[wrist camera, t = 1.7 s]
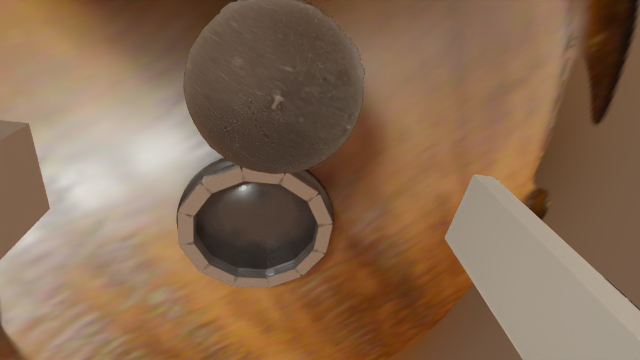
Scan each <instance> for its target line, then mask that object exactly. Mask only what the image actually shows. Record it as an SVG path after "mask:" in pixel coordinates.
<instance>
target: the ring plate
mask: <svg viewBox="0 0 640 360" xmlns="http://www.w3.org/2000/svg"><path fill="white" fill-rule="evenodd" d="M332 227H333V212H332V207H331V203H330V200H329V197H328V194H327V192H326V190H325V188H324V187H323V185H322V184H321V182H320V181H319V180H318V179H317V178H316V177H315V176H314V175H313V174H312V173H311V172H310V171H309V170H307V169H306V170H302V171H299V172H295V173H282V174H269V173H263V172H257V171H251V170H249V169H246V168H243V167H241V166H238V165H236V164H235V163H232V162H231V161H229V160H227V159H226V158H222V159H220V160H218V161H216V162H213V163H211V164H210V165H208V166H207V167H205V168H204V169H202V170H201V171H200V172H199V173H198V174H196V175H195V176H194V178H193V179H192V180H191V181H190V182H189V184H188V185H187V187H186V189H185V190H184V193H183V195H182V197H181V200H180V202H179V205H178V210H177V228H178V240H179V244H180V248H181V249H182V250H183V251H184V253H185V254H186V255H187V256H188V258H189V259H190V260H191V261H192V263H193V264H194V265H195V266H196V268H197V269H198V270H199V271H200V270H201V273H204V274H206V275H208V276H210V277H213V278H215V279H217V280H219V281H221V282H224V283H226V284H228V285H230V286H232V285H233V284H234V287H261V288H268V285H269V286H270V287H273V286H276V285H279V284H282V283H284V282H287V281H290V280H293V279H296V278H299V277H301V275H304V274H305V273H306V272H307V271H308V270H309V269H311V268H312V267H313V266H314V265H315V264H316V263H317V262H318V261H319V260H320V259H321V258H322V257H323V256H324V255H325V253H326V251H327V247H328V243H329V238H330V235H331V232H332Z"/></svg>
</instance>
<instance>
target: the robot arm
mask: <svg viewBox="0 0 640 360" xmlns="http://www.w3.org/2000/svg"><path fill="white" fill-rule="evenodd" d="M49 209H50V207H49V203H48V199H47V195H46V191H45V187H44V183H43V179H42V175H41V171H40V167H39V163H38V158H37V154H36V150H35V146H34V142H33V138H32V134H31V130H30V126H29V123H21V122H12V121H4V120H0V260H1V259H2V257H3V256H4V255H5V254H6V253H7V252H8V251H9V250H10V249H11V248H12V247H13V246H14V245H15V244H16V243H17V242H18V241H19V240H20V239H21V238H22V237H23V236H24V235H25V234H26V233H27V232H28V231H29V230H30V229H31V228H32V227H33V226H34V224H35V223H36V222H37V221H38V220H39V219H40V218H41V217H42V216H43V215H44V214H45V213H46V212H47V211H48V210H49ZM445 240H446V241H447V243H448V244H449V246H450V248H451V249H452V251H453V252H454V254H455V255H456V257H457V258H458V260H459V262H460V263H461V265H462V266H463V268H464V269H465V271H466V272H467V274H468V275H469V277H470V279H471V280H472V282H473V283H474V285H475V286H476V288H477V289H478V291H479V292H480V294H481V295H482V297H483V299H484V300H485V302H486V303H487V305H488V306H489V308H490V310H491V311H492V313H493V314H494V316H495V317H496V319H497V320H498V322H499V323H500V325H501V327H502V328H503V330H504V331H505V333H506V334H507V336H508V337H509V339H510V340H511V342H512V344H513V345H514V347H515V348H516V350H517V351H518V353H519V354H520V356H521V358H522V359H523V360H640V309H639V308H638V307H637V306H636V305H635V304H633V303H632V302H631V301H630V300H627V299H626V296H625V295H624V294H623V293H621V292H620V291H619V290H618V289H617V288H616V287H615V286H614V285H613V284H612V283H611V282H609V281H608V280H607V279H605V278H604V277H603V276H601V275H600V274H599V273H598V272H597V271H596V270H595V269H594V268H593V267H592V266H591V265H589V264H588V263H587V262H586V261H585V260H584V259H583V258H582V257H581V256H579V254H577V253H576V252H575V251H574V250H573V249H572V248H571V247H570V246H569V245H568V244H567V243H565V242H564V241H563V240H562V239H561V238H560V237H559V236H558V235H557V234H556V233H554V232H553V231H552V230H551V229H550V228H549V227H548V226H547V225H546V224H545V223H544V222H543V221H542V220H540V219H539V218H538V217H537V216H536V215H535V214H534V213H533V212H532V211H531V210H530V209H528V208H527V207H526V206H525V205H524V204H523V203H522V202H521V201H520V200H519V199H518V198H516V197H515V196H514V195H513V194H512V193H511V192H510V191H509V190H508V189H507V188H506V187H504V186H503V185H502V184H501V183H500V182H499V181H498V180H497V179H496V178H495V177H492V176H483V175H475V174H474V175H473V177H472V179H471V181H470V183H469V185H468V188H467V190H466V192H465V194H464V196H463V199H462V201H461V203H460V205H459V207H458V209H457V212H456V214H455V216H454V218H453V220H452V223H451V225H450V227H449V229H448V231H447V233H446V236H445Z"/></svg>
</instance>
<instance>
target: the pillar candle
mask: <svg viewBox="0 0 640 360" xmlns="http://www.w3.org/2000/svg"><path fill="white" fill-rule="evenodd" d="M360 61H361V59H360V54H359V52H358V49H357V48H356V46H355V45H353V44H352V43H351V38H349V37H347V36H346V34H345V32H344V31H343V30H342V29H341V28H340V27H339V26H338V25H337V24H336V21H335V20H334V19H333V18H332V17H328V16H326V15H325V14H323V13H322V12H321V10H319V9H318V8H316V7H315V6H312V5H309V4H308V3H306V2H305V1H303V0H238V1H236V2H230V3H229V4H228V5H226V6H225V7H224V8H223V9H222V10H221V11H220V14H218V15H216V16H215V17H214V19H213V20H211V21H210V22H209V23H208V24H207V25H206V27H205V28H204V29H203V30H202V32H201V33H200V35H199V36H198V38H197V39H196V41H195V43H194V44H193V46H192V47H191V50H190V52H189V56H188V60H187V62H186V68H185V74H184V93H185V99H186V104H187V107H188V110H189V113H190V115H191V117H192V120H193V122H194V124H195V125H196V127H197V129H198V131H199V132H200V134H201V135H202V137H203V138H204V139H205V140H206V141H207V143H208V144H209V146H210V147H211V148H212V149H214V150H215V151H217V152H218V153H219V154H220V155H222V156H223V157H225V158H226V159H227V160H229V161H231V162H232V163H235V164H236V165H238V166H241V167H243V168H246V169H249V170H251V171H257V172H263V173H269V174H282V173H295V172H299V171H302V170H306V169H308V168H311V167H313V166H315V165H317V164H319V163H321V162H323V161H325V160H326V159H327V158H329V157H330V156H331V155H333V154H334V153H335V152H336V151H337V150H338V149H339V148H340V147H341V146H342V145H343V144H344V143H345V141H346V140H347V139H348V137H349V135H350V134H351V132H352V130H353V128H354V126H355V124H356V122H357V119H358V117H359V113H360V110H361V107H362V101H363V79H364V75H365V69H364V67H363V65H362V64H361V62H360Z"/></svg>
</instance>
